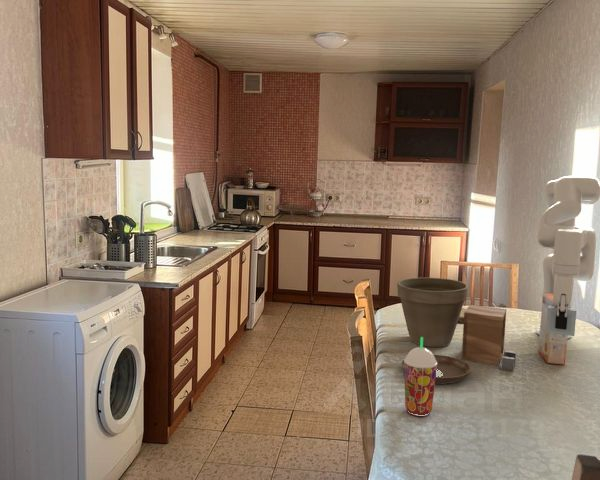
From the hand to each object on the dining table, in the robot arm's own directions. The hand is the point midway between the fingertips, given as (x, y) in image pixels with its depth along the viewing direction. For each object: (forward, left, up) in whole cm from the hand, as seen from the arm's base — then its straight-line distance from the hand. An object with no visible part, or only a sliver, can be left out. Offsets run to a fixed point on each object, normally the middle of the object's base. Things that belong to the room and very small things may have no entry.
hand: (560, 326), depth 175 cm
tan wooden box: (-3, -23, -15) cm, 27 cm away
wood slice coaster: (-51, -38, -15) cm, 66 cm away
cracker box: (-14, -2, -15) cm, 21 cm away
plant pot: (-12, -43, -15) cm, 47 cm away
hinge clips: (+3, -14, -15) cm, 21 cm away
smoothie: (+51, -32, -15) cm, 62 cm away
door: (0, 0, -2) cm, 2 cm away
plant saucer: (+21, -34, -15) cm, 43 cm away
